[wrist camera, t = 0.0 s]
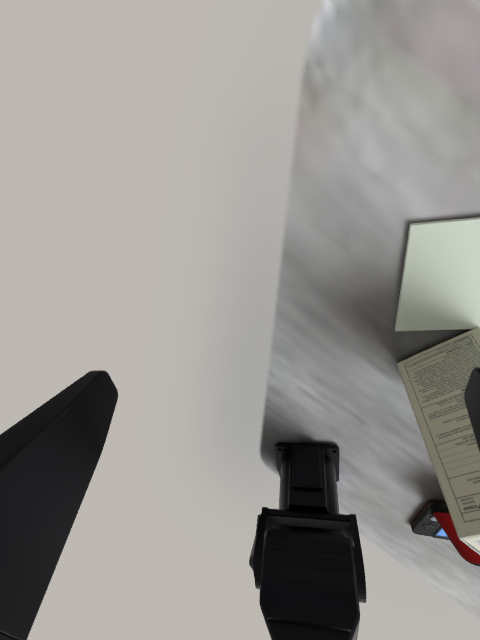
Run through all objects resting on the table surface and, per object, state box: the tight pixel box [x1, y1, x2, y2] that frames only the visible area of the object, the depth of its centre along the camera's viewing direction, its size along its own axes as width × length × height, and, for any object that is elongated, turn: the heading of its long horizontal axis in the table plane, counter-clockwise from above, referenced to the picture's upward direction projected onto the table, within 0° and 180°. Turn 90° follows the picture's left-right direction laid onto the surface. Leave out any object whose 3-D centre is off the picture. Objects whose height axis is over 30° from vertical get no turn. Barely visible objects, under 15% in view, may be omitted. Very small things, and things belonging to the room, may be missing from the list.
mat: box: [395, 217, 480, 331], centre depth 21 cm, size 8×8×1 cm
